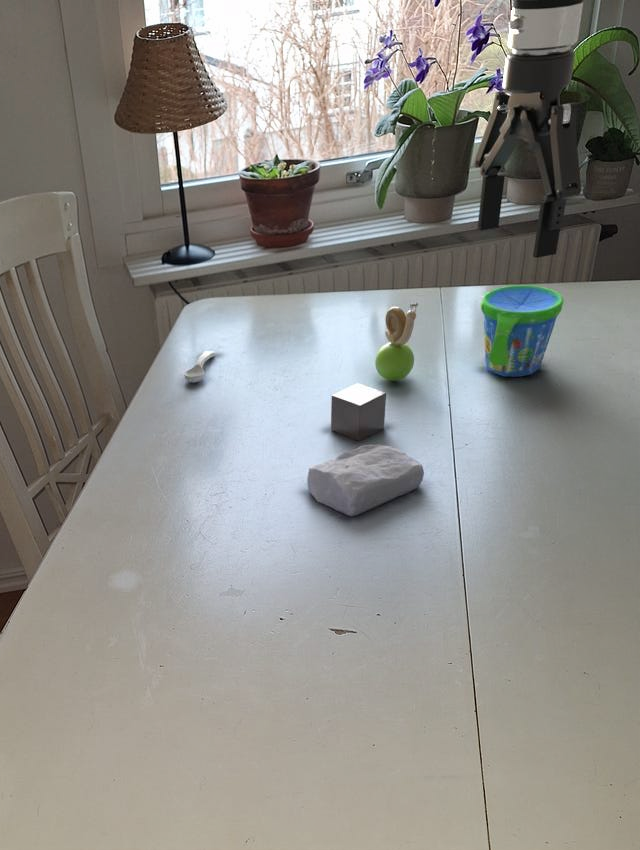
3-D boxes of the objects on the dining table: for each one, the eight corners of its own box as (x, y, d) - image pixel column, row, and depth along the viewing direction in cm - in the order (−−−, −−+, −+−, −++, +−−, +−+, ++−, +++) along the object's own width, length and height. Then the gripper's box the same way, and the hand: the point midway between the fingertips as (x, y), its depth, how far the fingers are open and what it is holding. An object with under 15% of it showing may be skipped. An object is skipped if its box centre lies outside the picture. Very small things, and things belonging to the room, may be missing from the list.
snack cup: (524, 396, 125) (535, 323, 119) (452, 381, 131) (460, 310, 125) (570, 355, 134) (583, 285, 128) (501, 343, 140) (510, 275, 134)
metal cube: (384, 428, 122) (386, 392, 119) (358, 441, 120) (360, 405, 117) (356, 417, 126) (357, 382, 122) (330, 430, 123) (331, 395, 120)
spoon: (182, 385, 139) (181, 372, 138) (201, 359, 148) (201, 347, 147) (200, 385, 138) (200, 372, 137) (219, 359, 148) (219, 347, 146)
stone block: (299, 503, 113) (353, 521, 105) (295, 466, 111) (350, 481, 103) (373, 474, 117) (430, 489, 109) (370, 438, 115) (428, 451, 107)
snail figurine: (392, 392, 130) (398, 308, 123) (367, 377, 135) (370, 295, 128) (424, 382, 132) (431, 299, 124) (398, 368, 137) (403, 286, 129)
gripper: (458, 44, 115) (442, 223, 128) (575, 65, 96) (542, 273, 109) (512, 35, 116) (491, 214, 129) (639, 55, 97) (599, 262, 110)
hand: (514, 241), depth 119 cm, fingers open, 13 cm apart
